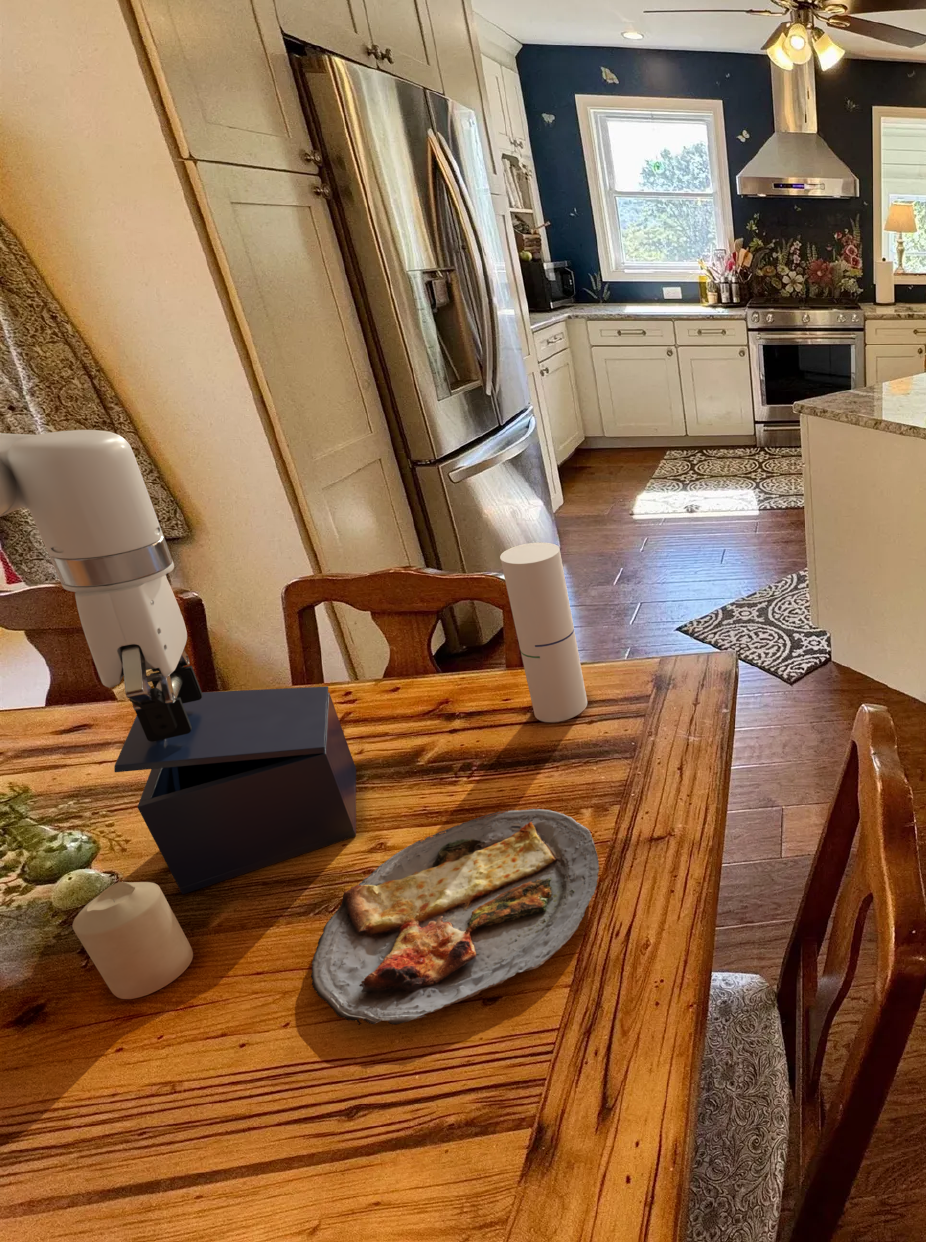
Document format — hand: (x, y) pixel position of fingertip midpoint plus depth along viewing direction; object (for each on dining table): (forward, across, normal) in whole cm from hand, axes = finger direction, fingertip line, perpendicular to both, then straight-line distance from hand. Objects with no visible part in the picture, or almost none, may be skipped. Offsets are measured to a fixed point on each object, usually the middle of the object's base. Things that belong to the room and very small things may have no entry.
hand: (176, 717), depth 77 cm
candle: (+17, +17, -3) cm, 24 cm away
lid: (+3, 0, +4) cm, 5 cm away
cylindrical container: (+16, -7, +37) cm, 41 cm away
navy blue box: (+17, 0, +5) cm, 17 cm away
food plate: (+16, +26, +22) cm, 38 cm away
